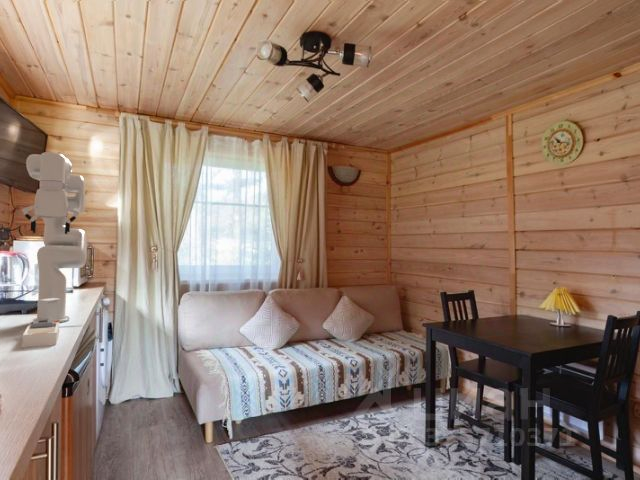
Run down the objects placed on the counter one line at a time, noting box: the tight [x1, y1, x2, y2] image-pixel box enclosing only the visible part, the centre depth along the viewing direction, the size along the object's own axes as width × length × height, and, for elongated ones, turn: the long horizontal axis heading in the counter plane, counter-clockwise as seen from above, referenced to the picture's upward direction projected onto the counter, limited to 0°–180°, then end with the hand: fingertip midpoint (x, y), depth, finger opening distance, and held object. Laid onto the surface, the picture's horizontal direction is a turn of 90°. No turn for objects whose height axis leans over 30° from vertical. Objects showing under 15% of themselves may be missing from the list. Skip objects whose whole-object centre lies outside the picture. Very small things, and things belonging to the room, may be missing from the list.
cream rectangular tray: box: [21, 322, 60, 349], centre depth 135 cm, size 18×9×4 cm, turn 31°
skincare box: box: [36, 298, 60, 323], centre depth 147 cm, size 6×4×12 cm
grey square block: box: [32, 319, 53, 329], centre depth 138 cm, size 6×6×5 cm
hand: (50, 233), depth 144 cm, fingers open, 9 cm apart
